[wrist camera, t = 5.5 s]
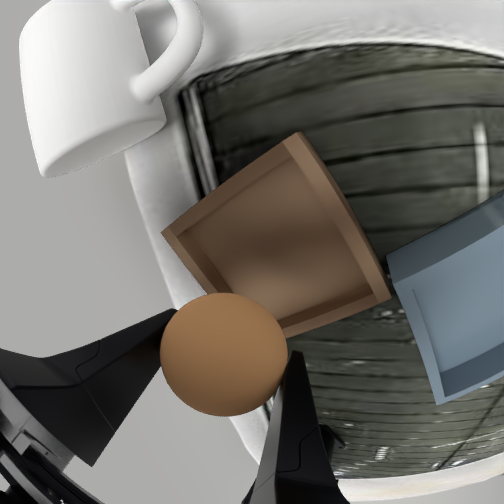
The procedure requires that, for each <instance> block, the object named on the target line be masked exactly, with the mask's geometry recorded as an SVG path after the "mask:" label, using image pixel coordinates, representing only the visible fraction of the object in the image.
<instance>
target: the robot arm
mask: <svg viewBox="0 0 504 504" xmlns="http://www.w3.org/2000/svg"><path fill="white" fill-rule="evenodd" d="M177 311H178V310H176V309H173V308H171V309H169V310H166V311H164V312H162V313H159V314H157V315H155V316H153V317H151V318H148V319H146V320H144V321H141V322H139V323H137V324H135V325H132V326H130V327H128V328H125V329H123V330H121V331H118V332H116V333H114V334H112V335H109V336H107V337H105V338H102V339H101V340H97V341H95V342H93V343H90V344H88V345H85V346H83V347H79V348H76V349H74V350H70V351H67V352H64V353H60V354H57V355H53V356H50V357H45V358H37V357H32V356H27V355H23V354H19V353H15V352H11V351H8V350H4V349H1V348H0V473H1V474H2V475H3V477H4V478H5V479H6V480H7V482H8V483H9V484H10V486H9V488H8V489H7V490H6V492H3V491H1V490H0V504H62V502H61V501H60V500H63V503H64V504H104V503H103V502H101V501H100V500H98V499H97V498H96V497H94V496H93V495H91V494H90V493H88V492H87V491H86V490H84V489H83V488H81V487H80V486H79V485H78V484H77V483H75V482H74V481H73V480H71V479H70V478H69V477H68V476H66V475H65V474H64V473H63V470H64V469H65V468H66V466H67V465H68V464H69V462H70V461H71V460H72V458H73V457H74V456H75V455H76V456H77V457H79V458H80V459H81V460H83V461H84V462H85V463H87V464H88V465H89V466H91V467H92V466H93V465H94V464H95V462H96V461H97V459H98V457H99V456H100V455H101V453H102V451H103V450H104V448H105V447H106V446H107V444H108V443H109V441H110V440H111V438H112V437H113V435H114V434H115V432H116V431H117V429H118V428H119V426H120V425H121V424H122V422H123V421H124V419H125V418H126V416H127V415H128V413H129V412H130V410H131V409H132V407H133V406H134V404H135V403H136V401H137V400H138V398H139V397H140V395H141V394H142V393H143V391H144V390H145V388H146V387H147V385H148V384H149V383H150V381H151V380H152V378H153V377H154V375H155V374H156V372H157V371H158V370H159V368H160V367H161V362H160V346H161V340H162V336H163V333H164V331H165V328H166V326H167V324H168V323H169V321H170V320H171V318H172V317H173V316H174V314H175V313H176V312H177ZM344 448H345V444H344V443H343V442H342V441H341V440H340V439H339V438H338V437H337V436H336V435H335V434H334V433H333V432H332V431H331V430H330V429H329V428H328V427H327V426H325V425H319V422H318V418H317V413H316V409H315V404H314V400H313V395H312V391H311V386H310V382H309V377H308V373H307V369H306V364H305V360H304V356H303V353H302V352H300V351H297V350H292V351H291V353H290V356H289V358H288V361H287V368H286V371H285V374H284V377H283V380H282V382H281V384H280V386H279V388H278V391H277V393H276V397H275V400H274V404H273V408H272V413H271V418H270V423H269V427H268V432H267V436H266V441H265V445H264V449H263V453H262V458H261V462H260V466H259V470H258V474H257V478H256V479H255V481H254V483H253V485H252V487H251V488H250V490H249V492H248V494H247V496H246V497H245V498H244V500H243V501H242V503H241V504H350V503H349V502H348V501H347V500H346V498H345V497H344V496H343V494H342V493H341V491H340V489H339V487H338V480H339V479H335V476H334V474H333V471H332V468H331V465H330V464H331V459H332V454H333V450H337V449H344Z"/></svg>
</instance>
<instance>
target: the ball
mask: <svg viewBox="0 0 504 504" xmlns="http://www.w3.org/2000/svg"><path fill="white" fill-rule="evenodd" d="M287 360H288V351H287V344H286V340H285V336H284V334H283V331H282V329H281V327H280V325H279V324H278V322H277V321H276V319H275V318H274V317H273V316H272V314H271V313H270V312H269V311H268V310H267V309H266V308H264V307H263V306H262V305H260V304H259V303H257V302H255V301H253V300H251V299H249V298H247V297H244V296H241V295H237V294H232V293H213V294H208V295H204V296H201V297H198V298H196V299H194V300H192V301H190V302H189V303H187V304H186V305H184V306H183V307H182V308H180V309H179V310H178V311H177V312H176V313H175V314H174V316H173V317H172V318H171V320H170V321H169V323H168V324H167V326H166V328H165V331H164V333H163V336H162V340H161V346H160V362H161V367H162V370H163V374H164V376H165V379H166V380H167V383H168V385H169V386H170V387H171V389H172V391H173V392H174V393H175V394H176V395H177V396H178V397H179V398H180V399H181V400H182V401H183V402H184V403H186V404H187V405H189V406H190V407H192V408H193V409H195V410H197V411H200V412H202V413H205V414H209V415H214V416H236V415H241V414H245V413H248V412H250V411H253V410H255V409H256V408H258V407H260V406H261V405H263V404H264V403H265V402H266V401H268V400H269V399H270V398H271V397H272V395H273V394H274V393H275V392H276V391H277V389H278V388H279V386H280V384H281V382H282V380H283V377H284V374H285V371H286V368H287Z"/></svg>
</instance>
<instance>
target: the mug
mask: <svg viewBox="0 0 504 504" xmlns="http://www.w3.org/2000/svg"><path fill="white" fill-rule="evenodd" d="M142 1H144V0H52V1H50V2H48V3H47V4H45V5H44V6H43V7H42V8H40V9H39V10H38V11H37V12H36V13H35V14H34V15H33V16H32V17H31V18H30V20H29V21H28V22H27V24H26V25H25V27H24V29H23V31H22V33H21V36H20V40H19V51H20V52H19V53H20V69H21V80H22V89H23V97H24V104H25V110H26V116H27V121H28V126H29V131H30V136H31V140H32V144H33V148H34V152H35V156H36V160H37V164H38V167H39V171H40V173H41V175H42V176H44V177H48V178H49V177H57V176H61V175H64V174H68V173H71V172H73V171H76V170H78V169H82V168H84V167H87V166H89V165H92V164H94V163H96V162H99V161H101V160H103V159H106V158H108V157H110V156H112V155H115V154H117V153H119V152H121V151H123V150H125V149H127V148H129V147H131V146H133V145H135V144H137V143H139V142H141V141H143V140H145V139H147V138H148V137H150V136H152V135H153V134H155V133H156V132H158V131H159V130H160V129H161V128H162V127H163V126H164V125H165V123H166V120H167V118H166V115H165V112H164V109H163V106H162V103H161V99H160V96H159V94H161V93H162V92H163V91H165V90H166V89H167V88H169V87H170V86H171V85H172V84H173V83H174V82H176V81H177V80H178V79H179V78H180V77H181V76H182V75H183V74H184V73H185V71H186V70H187V69H188V68H189V67H190V65H191V64H192V62H193V61H194V59H195V58H196V56H197V54H198V52H199V49H200V47H201V43H202V39H203V21H202V16H201V13H200V10H199V8H198V6H197V4H196V2H195V1H194V0H167V1H168V2H169V3H170V4H171V6H172V7H173V9H174V11H175V14H176V17H177V30H176V33H175V36H174V38H173V40H172V42H171V43H170V45H169V46H168V48H167V49H166V50H165V51H164V53H163V54H162V55H161V56H160V57H159V58H158V59H157V60H156V61H155V62H154V63H153V64H152V65H151V66H150V64H149V61H148V57H147V54H146V50H145V47H144V43H143V40H142V36H141V33H140V29H139V26H138V22H137V18H136V15H135V11H134V7H133V6H135V5H137V4H138V3H140V2H142Z"/></svg>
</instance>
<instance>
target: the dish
mask: <svg viewBox="0 0 504 504" xmlns="http://www.w3.org/2000/svg"><path fill="white" fill-rule="evenodd" d="M386 258H387V262H388V266H389V270H390V274H391V278H392V283H393V286H394V288H395V290H396V292H397V295H398V297H399V299H400V302H401V304H402V306H403V309H404V311H405V314H406V316H407V318H408V321H409V323H410V326H411V329H412V331H413V334H414V336H415V339H416V342H417V345H418V347H419V350H420V353H421V356H422V359H423V362H424V365H425V368H426V371H427V374H428V377H429V380H430V384H431V387H432V390H433V394H434V397H435V401H436V405H440V404H442V403H445V402H448V401H450V400H453V399H455V398H458V397H460V396H462V395H465V394H467V393H469V392H471V391H474V390H476V389H478V388H480V387H482V386H484V385H486V384H488V383H490V382H492V381H494V380H496V379H498V378H500V377H502V376H503V375H504V190H503V191H502V192H500V193H498V194H497V195H495V196H493V197H492V198H490V199H488V200H487V201H485V202H483V203H482V204H480V205H478V206H477V207H475V208H473V209H472V210H470V211H468V212H466V213H465V214H463V215H461V216H459V217H457V218H456V219H454V220H452V221H450V222H448V223H447V224H445V225H443V226H441V227H439V228H437V229H436V230H434V231H432V232H430V233H428V234H426V235H424V236H422V237H420V238H418V239H417V240H415V241H413V242H411V243H409V244H407V245H405V246H403V247H401V248H399V249H397V250H395V251H393V252H391V253H389V254H387V255H386Z"/></svg>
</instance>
